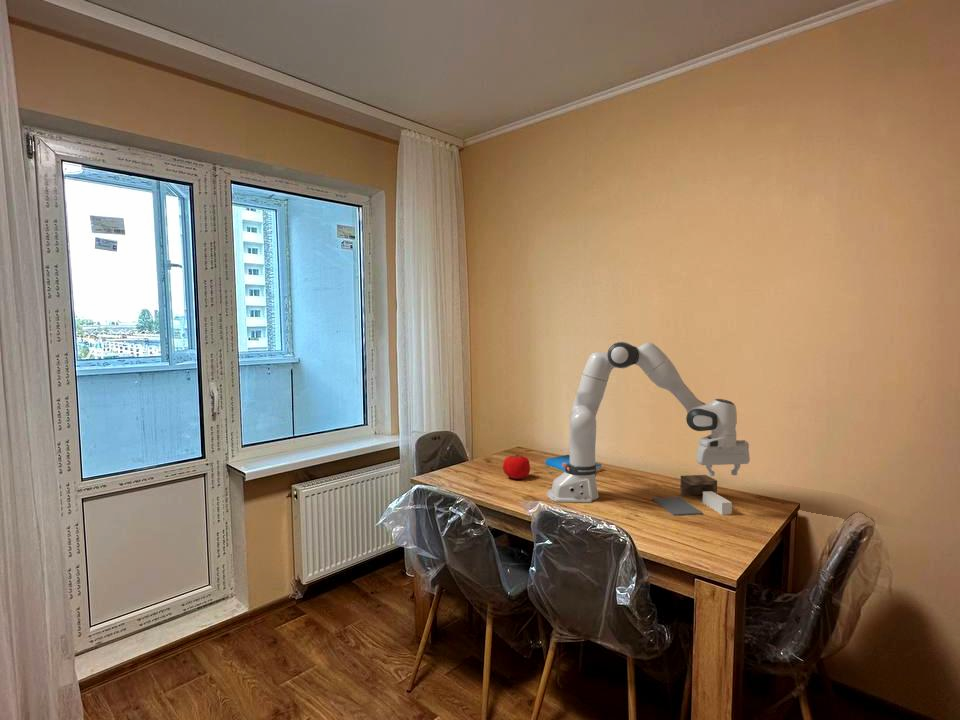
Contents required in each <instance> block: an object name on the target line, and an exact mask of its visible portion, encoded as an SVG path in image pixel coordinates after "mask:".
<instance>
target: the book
mask: <svg viewBox="0 0 960 720" xmlns="http://www.w3.org/2000/svg"><path fill="white" fill-rule="evenodd" d="M569 462H570V454H566V455H559V456H554V457H549V458H546V459H545V465H546V466H547V465H549V466H548V467H550V466H552V467H551V468H553V467H555V468H554V469H556V468H558V469H557V470H559V469H560V471H562V470H563V472H565V468H563V466H562V464H563V463H566V464H568V463H569ZM595 464H596V469H597V471H598V472H600V471H599V470H601V471H602V463H598V462H596V461H595Z"/></svg>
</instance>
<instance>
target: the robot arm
mask: <svg viewBox="0 0 960 720" xmlns="http://www.w3.org/2000/svg"><path fill="white" fill-rule="evenodd" d="M633 365H636V366H638V367H639V368H640V369H641V370H642V371H643V373H644V374H645V375H646V376H647V377H648V379H649V380H650V381H651V382H653V384H655V385H656V386H657V387H658V388H661V389H663V390H667V391H668V392H669V393H671V394H672V395H673V396H674V397H675V398H676V399H677V401H678V402H679V403H680V404H681V405H682V406H683V407H684V409H685V411H686V413H687V414H686V418H685V421H686V424H687V425H688V427H689V428H690V429H692V430H693V431H696V432H705V431H706V432H709V431H711V432H710V433H711V434H709V435H706V436H703V437H701V438H699V439H698V443H699V445H698V447H697V452H696V462H697V463H698V464H700V465H701V466H705V467H706V469H707V471H708V476H709V477H714V476H715V473H716V472H715V471H713V470H712V468H713V466H716V465H717V466H719V465H722V466H723V465H726V466H727V465H733V466H734V467H733V469H731V470H730V471H731V474H730V475H731V476H738V471H739V470H740V468H741V465H747V464H749V463H750V460H751V458H750V449H749V448H750V444H749V442H748V441H746V440H744V439H740V440H739V439H737V431H736V427H737V424H738V423H737V422H738V421H737V420H738V419H737V418H738V417H737V416H738V415H737V414H738V413H737V407H736V405H735V403H733V402H732V401H730V400H728V399H723V398H715V399H713V400H712V401H710V402H707V403H706V402H703V401H701V400H699V399H698V397H697V396H696V395H695V394H694V393H693V392H692V390H690V388H689V387H688V386H687V385H686V384H685V382H684V381H683V378H682V377H681V375H680V373H679V371H678V370H677V367H676V366H675V365H674V363H673V361H671V359H670V358H669V357H668V356H667V354H666V353H664V351H662V350H661V348H660V347H658V346H657V345H656V344H654V343H652V342H644V343H642V344H641V345H639V346H634V345H632V344H631V343H629V342H625V341H620V342H619V341H618V342H615V343H613V344H612V345H611V346H610V347H609V349H608V350H607V352H601V351H596V352H593V353H590V355H589V357H588V359H587V361H586V364H585V366H584V368H583V372H582V375H581V378H580V382H579V385H578V387H577V392H576V395H575V397H574V401H573V403H572V407H571V410H570V413H569V455H570V462H569V463H568V464H566V463H563V464H562V466H563V468H565V471H563V472H562V473H561V474H560V475H558V476H557V477H556V478H554V479H553V482H552V486H551V489H547V490H546V496H547V497H548V499H549V500H551V501H553V502H557V503H558V502H559V503H560V502H561V503H592V502H593V501H595V500H597V499H598V498H600V495H599V492H598V487H597V480H596V479H597V478H596V477H597V473H598V472H597V469H596V464H595V462H596V440H597V439H596V438H597V437H596V436H597V418H596V417H597V414H598V410H599V408H600V406H601V402H602V400H603V399H604V395H605V391H606V388H607V385H608V381H609V378H610V376H611V375H610V374H611V372H612V370H613V369H615V368H617V369H627V368H628V367H629V368H630V367H631V366H633Z"/></svg>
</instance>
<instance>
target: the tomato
mask: <svg viewBox="0 0 960 720" xmlns="http://www.w3.org/2000/svg"><path fill="white" fill-rule="evenodd" d="M502 470H503V472H504V474H505V475H506V476H507V477H508V478H511V479H514V480H521V479H525V478H526V477H528V476H529V474H530V472H531V464H530V461H529V459H528V458H527V457H526V456H524V455H521V454H515V455H510V456H506V458H505V459H504V461H503V463H502Z"/></svg>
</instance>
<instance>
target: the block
mask: <svg viewBox="0 0 960 720" xmlns="http://www.w3.org/2000/svg"><path fill="white" fill-rule="evenodd" d="M702 504H704V505H705V504H706V505H705V506H707V507H708V506H709V507H708V508H710V509H712V510H713V509H714V511H715V512H716V511H717V512H716V513H718V514H720V515H721V516H727V515H729V514H733V512H732V511H733V502H732V501H730V500H728V499H726V498H725V497H723V496H721V495H719V494H718V493H717V494H716V493H714V492H712V491H705V492H703V495H702Z"/></svg>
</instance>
